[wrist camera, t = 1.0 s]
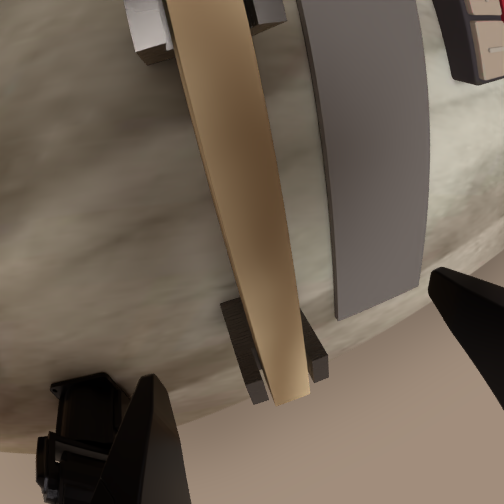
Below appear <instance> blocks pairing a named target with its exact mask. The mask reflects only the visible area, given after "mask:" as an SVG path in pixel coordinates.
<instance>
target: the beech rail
mask: <svg viewBox="0 0 504 504" xmlns="http://www.w3.org/2000/svg"><path fill="white" fill-rule="evenodd" d="M162 2H163V7H164V11H165V15H166V19H167V24H168V28H169V32H170V36H171V40H172V44H173V49H174V53H175V57H176V61H177V65H178V69H179V73H180V77H181V81H182V85H183V89H184V93H185V97H186V101H187V105H188V108H189V112H190V116H191V120H192V124H193V128H194V132H195V135H196V139H197V143H198V147H199V150H200V154H201V158H202V162H203V165H204V169H205V173H206V177H207V180H208V184H209V188H210V191H211V195H212V199H213V202H214V206H215V209H216V213H217V217H218V220H219V224H220V227H221V231H222V234H223V238H224V242H225V245H226V249H227V252H228V256H229V259H230V263H231V266H232V270H233V273H234V276H235V280H236V283H237V287H238V290H239V294H240V297H241V300H242V304H243V307H244V311H245V314H246V317H247V321H248V324H249V327H250V331H251V334H252V337H253V341H254V344H255V347H256V351H257V354H258V357H259V360H260V364H261V367H262V370H263V373H264V377H265V380H266V382H267V385H268V387H269V390H270V392H271V395H272V398H273V400H274V403H275V405H276V406H278V405H281V404H284V403H287V402H290V401H292V400H295V399H297V398H300V397H303V396H306V395H308V394H310V387H309V378H308V370H307V361H306V353H305V345H304V337H303V330H302V322H301V315H300V307H299V300H298V293H297V286H296V279H295V272H294V265H293V259H292V252H291V246H290V239H289V233H288V227H287V221H286V214H285V208H284V202H283V196H282V191H281V185H280V179H279V173H278V168H277V162H276V156H275V151H274V146H273V140H272V135H271V129H270V124H269V119H268V114H267V109H266V104H265V99H264V94H263V89H262V84H261V79H260V74H259V69H258V65H257V60H256V55H255V51H254V46H253V41H252V37H251V32H250V28H249V23H248V19H247V15H246V10H245V6H244V2H243V0H162Z"/></svg>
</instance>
